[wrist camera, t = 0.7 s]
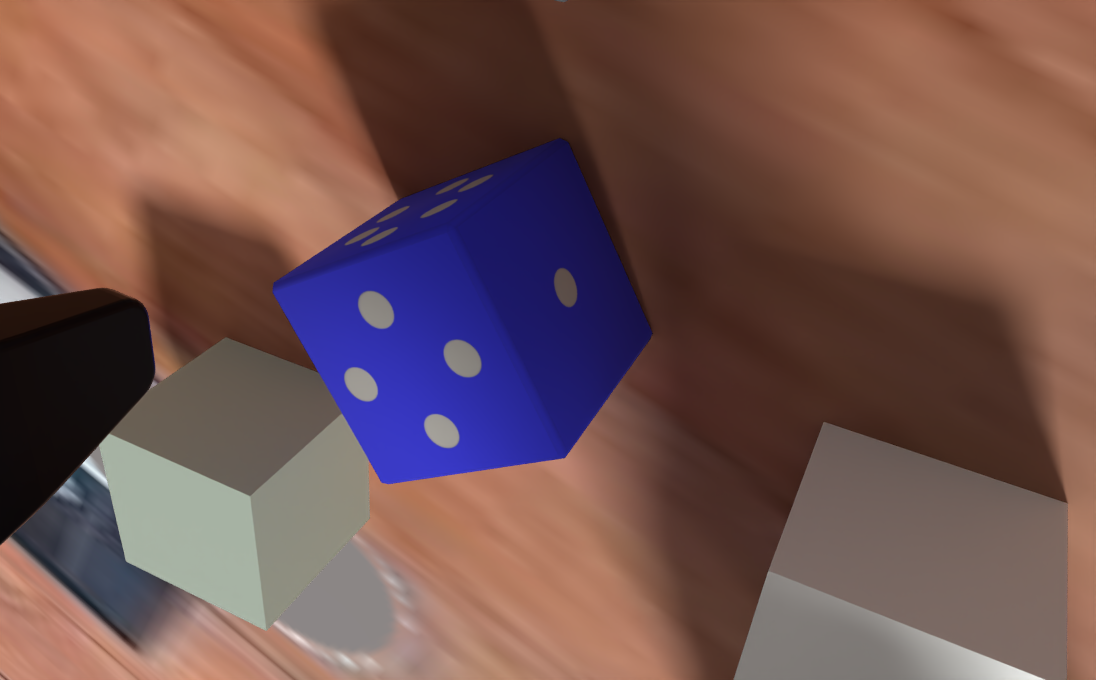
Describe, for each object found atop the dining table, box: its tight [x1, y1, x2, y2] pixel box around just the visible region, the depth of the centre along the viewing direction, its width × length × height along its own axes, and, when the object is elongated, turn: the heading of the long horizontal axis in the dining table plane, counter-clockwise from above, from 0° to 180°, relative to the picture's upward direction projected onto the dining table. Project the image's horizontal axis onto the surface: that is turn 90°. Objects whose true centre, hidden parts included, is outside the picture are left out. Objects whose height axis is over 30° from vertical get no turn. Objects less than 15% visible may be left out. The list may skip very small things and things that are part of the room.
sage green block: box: [99, 337, 370, 631], centre depth 27 cm, size 5×5×5 cm
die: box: [273, 138, 653, 484], centre depth 20 cm, size 5×5×5 cm
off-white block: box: [734, 422, 1068, 680], centre depth 19 cm, size 5×5×5 cm
